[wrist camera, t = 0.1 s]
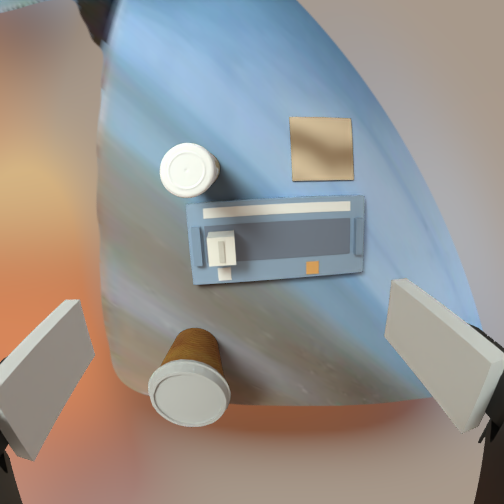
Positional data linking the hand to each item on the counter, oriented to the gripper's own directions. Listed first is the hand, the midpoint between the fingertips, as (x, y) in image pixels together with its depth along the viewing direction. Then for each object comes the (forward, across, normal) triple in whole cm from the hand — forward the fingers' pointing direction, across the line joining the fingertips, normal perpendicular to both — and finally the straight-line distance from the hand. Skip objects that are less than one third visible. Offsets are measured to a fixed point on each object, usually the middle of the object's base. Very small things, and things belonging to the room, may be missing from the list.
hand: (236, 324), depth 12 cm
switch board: (+28, +6, -3) cm, 29 cm away
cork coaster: (+28, +12, +8) cm, 31 cm away
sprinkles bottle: (+28, -4, +6) cm, 29 cm away
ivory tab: (+26, -1, -3) cm, 26 cm away
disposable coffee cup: (+28, -6, -18) cm, 34 cm away
